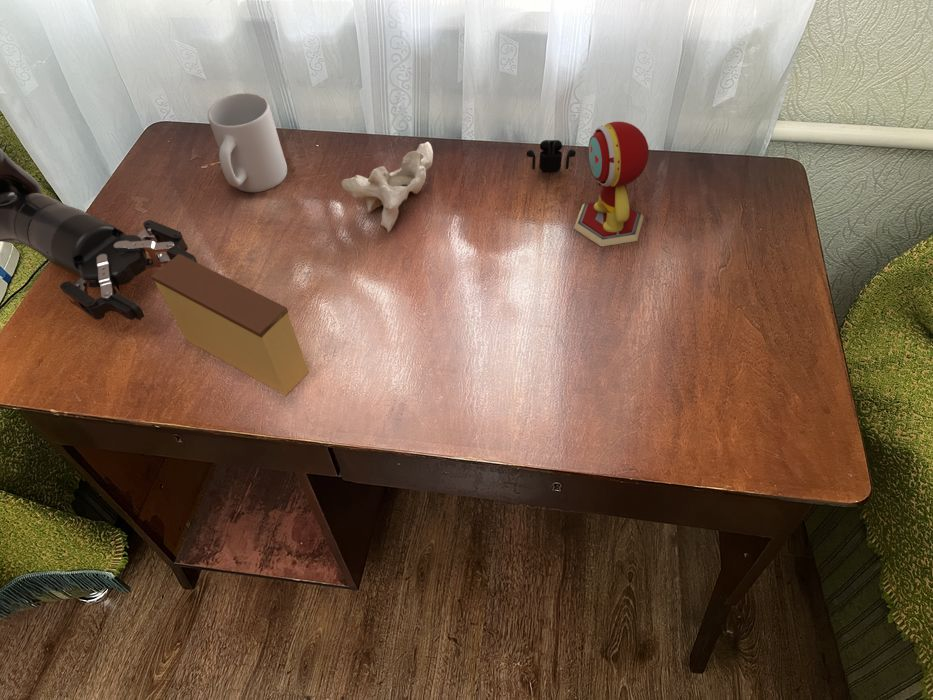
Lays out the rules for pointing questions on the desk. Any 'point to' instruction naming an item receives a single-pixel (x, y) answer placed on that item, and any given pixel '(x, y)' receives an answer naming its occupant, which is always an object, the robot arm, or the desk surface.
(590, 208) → the figurine
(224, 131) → the mug
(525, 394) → the desk surface
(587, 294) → the desk surface
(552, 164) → the wireless earbuds
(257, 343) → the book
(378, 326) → the desk surface
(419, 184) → the decorative object
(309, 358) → the desk surface
